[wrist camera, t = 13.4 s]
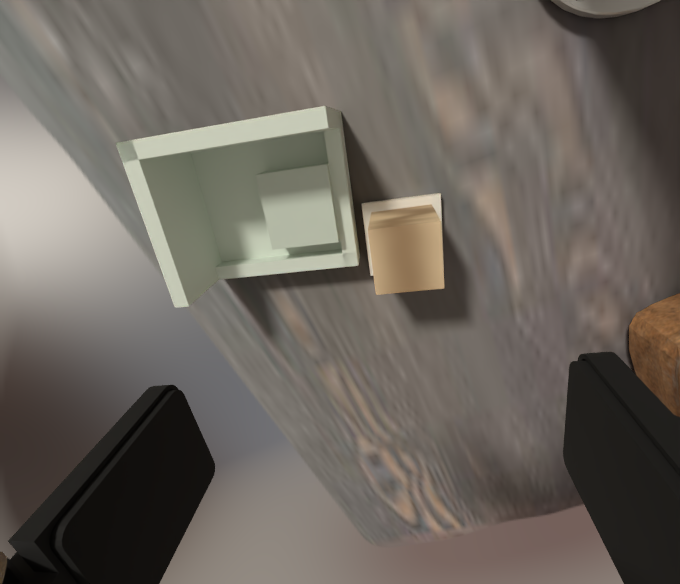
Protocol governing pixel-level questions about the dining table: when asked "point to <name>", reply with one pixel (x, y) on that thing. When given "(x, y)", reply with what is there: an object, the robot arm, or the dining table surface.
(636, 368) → the bread
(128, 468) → the robot arm
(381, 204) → the cream tile
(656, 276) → the dining table surface
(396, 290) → the oak block
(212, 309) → the dining table surface
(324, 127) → the pale grey angled piece
